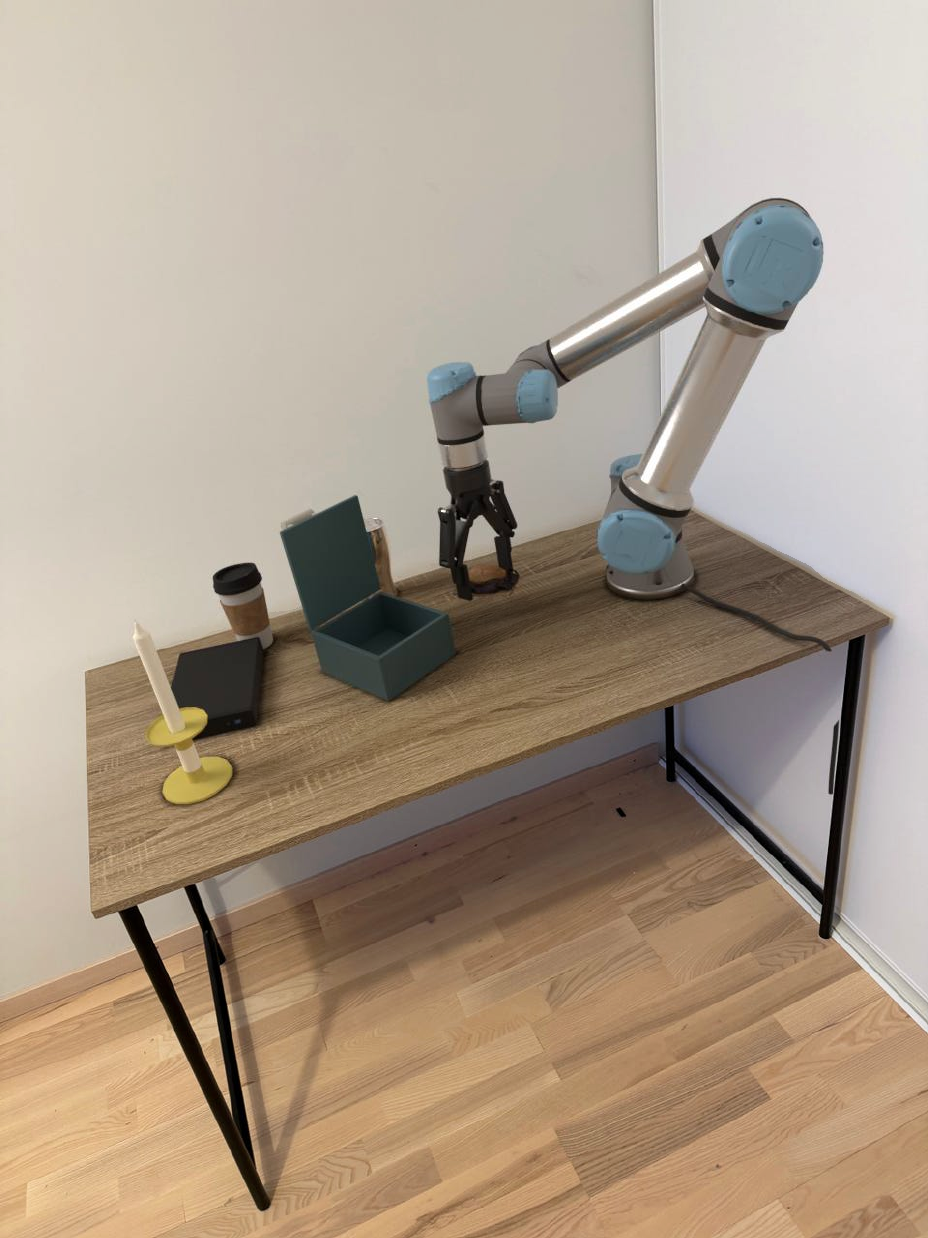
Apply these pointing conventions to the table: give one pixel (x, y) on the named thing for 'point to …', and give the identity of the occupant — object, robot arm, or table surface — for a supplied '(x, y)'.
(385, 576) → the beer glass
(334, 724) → the table surface
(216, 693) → the external hard drive
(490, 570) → the bread roll
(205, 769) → the candle
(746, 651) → the table surface
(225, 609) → the coffee cup
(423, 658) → the bread box
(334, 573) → the bread box lid
